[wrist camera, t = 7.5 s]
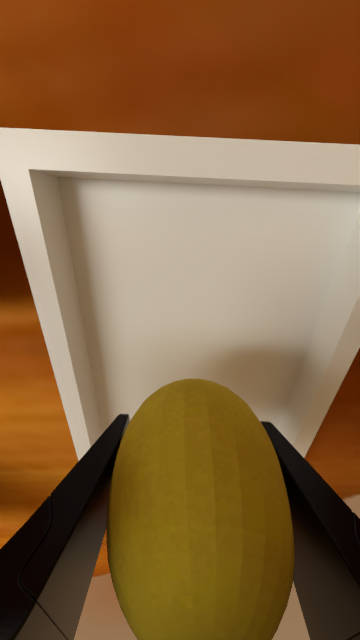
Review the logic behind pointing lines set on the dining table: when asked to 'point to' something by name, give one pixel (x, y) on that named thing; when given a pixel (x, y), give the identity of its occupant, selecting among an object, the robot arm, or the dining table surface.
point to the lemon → (199, 519)
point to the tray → (189, 269)
